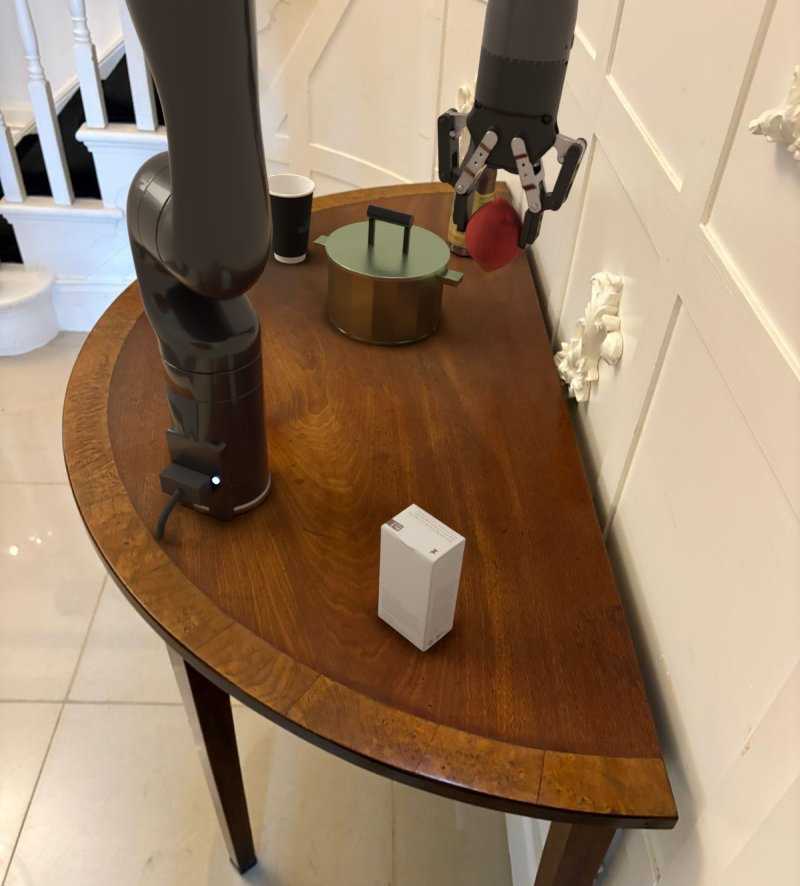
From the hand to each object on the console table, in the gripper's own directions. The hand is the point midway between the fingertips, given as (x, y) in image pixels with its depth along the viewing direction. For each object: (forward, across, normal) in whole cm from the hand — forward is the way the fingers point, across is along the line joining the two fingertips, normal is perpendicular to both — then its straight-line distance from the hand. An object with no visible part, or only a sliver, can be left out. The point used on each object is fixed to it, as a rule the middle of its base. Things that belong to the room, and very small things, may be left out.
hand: (494, 237), depth 78 cm
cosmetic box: (+24, +7, -30) cm, 39 cm away
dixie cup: (+24, -39, +27) cm, 53 cm away
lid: (+14, -19, +18) cm, 30 cm away
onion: (+4, 0, 0) cm, 4 cm away
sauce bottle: (+23, -16, +44) cm, 53 cm away
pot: (+23, -19, +18) cm, 35 cm away
